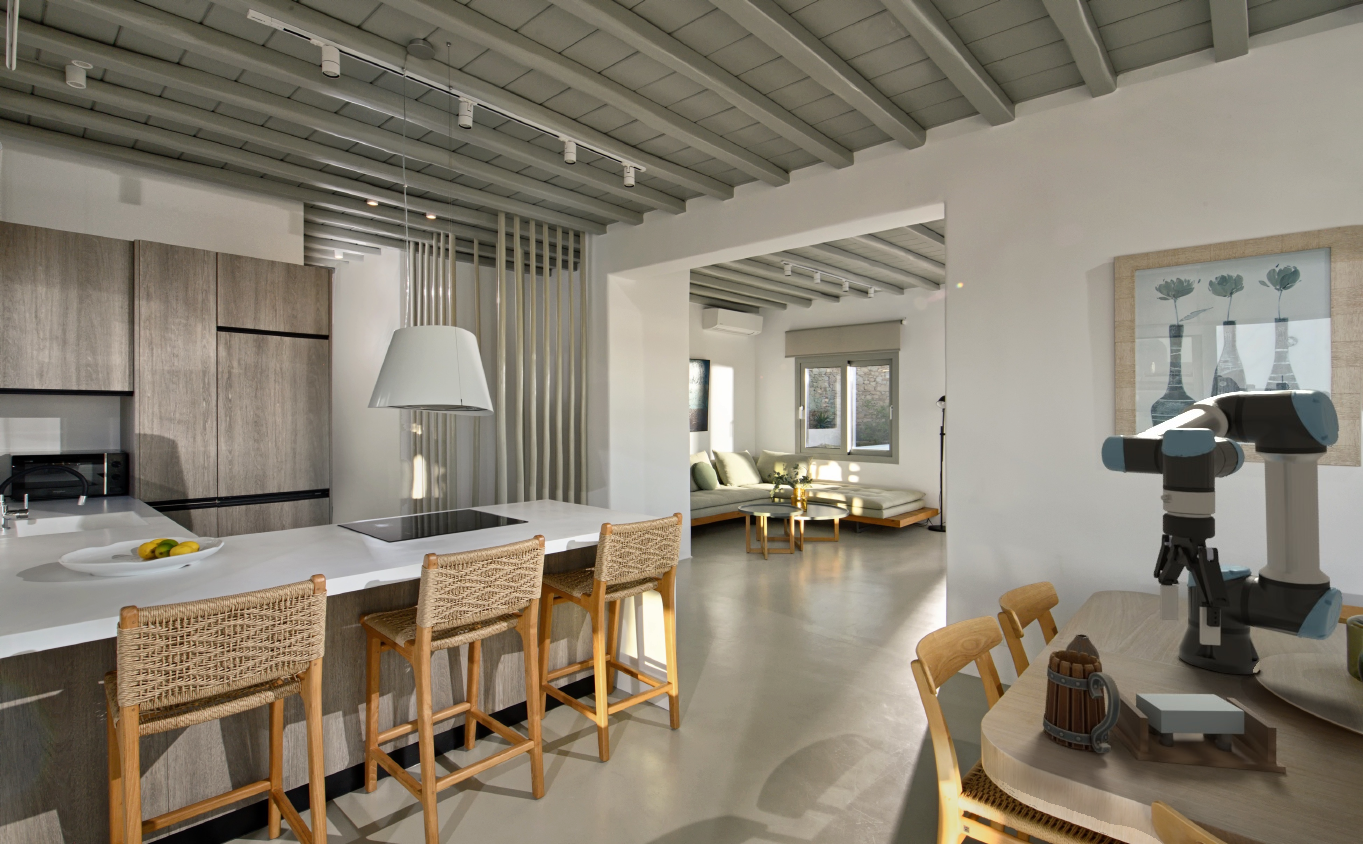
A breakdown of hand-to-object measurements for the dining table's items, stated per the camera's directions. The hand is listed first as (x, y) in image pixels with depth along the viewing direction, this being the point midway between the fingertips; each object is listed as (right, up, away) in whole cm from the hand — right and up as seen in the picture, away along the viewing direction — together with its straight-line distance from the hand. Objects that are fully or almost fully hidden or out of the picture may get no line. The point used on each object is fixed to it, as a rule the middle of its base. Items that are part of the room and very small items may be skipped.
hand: (1188, 631), depth 120 cm
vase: (+1, -20, +33) cm, 39 cm away
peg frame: (0, -21, 0) cm, 21 cm away
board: (0, -17, 0) cm, 17 cm away
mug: (-18, -21, +1) cm, 28 cm away
